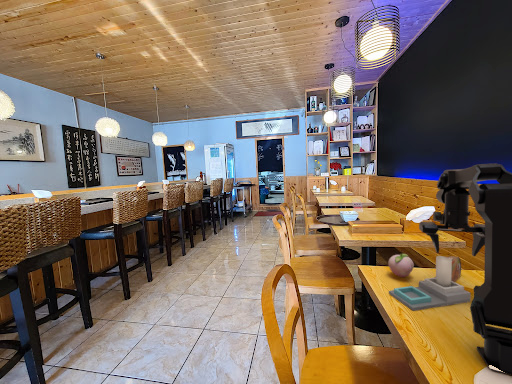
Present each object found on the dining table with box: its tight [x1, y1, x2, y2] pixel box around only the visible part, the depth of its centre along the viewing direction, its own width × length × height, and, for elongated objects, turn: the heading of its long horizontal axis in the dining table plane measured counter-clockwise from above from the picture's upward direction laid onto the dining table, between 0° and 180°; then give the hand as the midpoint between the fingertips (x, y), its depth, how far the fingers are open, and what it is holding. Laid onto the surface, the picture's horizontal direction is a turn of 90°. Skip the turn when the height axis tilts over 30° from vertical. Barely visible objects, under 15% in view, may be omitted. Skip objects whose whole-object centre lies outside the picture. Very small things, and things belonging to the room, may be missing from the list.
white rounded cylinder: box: [435, 255, 452, 288], centre depth 74 cm, size 5×4×10 cm
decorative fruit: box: [387, 253, 415, 278], centre depth 87 cm, size 9×8×10 cm
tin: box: [447, 255, 462, 283], centre depth 84 cm, size 15×3×8 cm, turn 124°
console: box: [388, 276, 471, 312], centre depth 73 cm, size 21×10×4 cm, turn 99°
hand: (455, 254), depth 72 cm, fingers open, 9 cm apart
